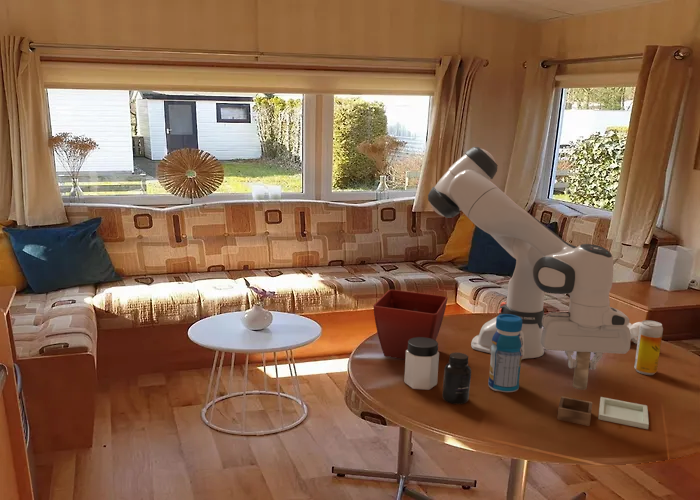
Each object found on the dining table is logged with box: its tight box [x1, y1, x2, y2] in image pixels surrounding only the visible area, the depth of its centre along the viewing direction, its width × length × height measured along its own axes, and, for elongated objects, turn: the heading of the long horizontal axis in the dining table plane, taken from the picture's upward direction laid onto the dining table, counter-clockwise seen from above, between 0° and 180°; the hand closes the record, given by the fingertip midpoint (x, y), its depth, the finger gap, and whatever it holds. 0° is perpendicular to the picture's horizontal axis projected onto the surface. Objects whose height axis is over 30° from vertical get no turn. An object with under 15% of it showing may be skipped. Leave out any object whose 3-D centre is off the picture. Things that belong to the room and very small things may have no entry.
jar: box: [403, 337, 440, 391], centre depth 168 cm, size 9×8×12 cm
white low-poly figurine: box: [627, 321, 642, 345], centre depth 205 cm, size 8×8×15 cm
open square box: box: [556, 395, 593, 427], centre depth 152 cm, size 7×7×4 cm
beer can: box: [634, 319, 664, 376], centre depth 181 cm, size 6×6×15 cm
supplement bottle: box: [441, 352, 472, 405], centre depth 160 cm, size 7×7×12 cm
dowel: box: [572, 351, 592, 391], centre depth 150 cm, size 3×3×10 cm
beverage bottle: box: [487, 314, 523, 393], centre depth 166 cm, size 8×8×20 cm
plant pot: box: [373, 289, 449, 360], centre depth 190 cm, size 19×19×17 cm
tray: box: [598, 396, 650, 430], centre depth 154 cm, size 11×11×2 cm
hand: (581, 367), depth 150 cm, fingers closed on dowel, 3 cm apart
